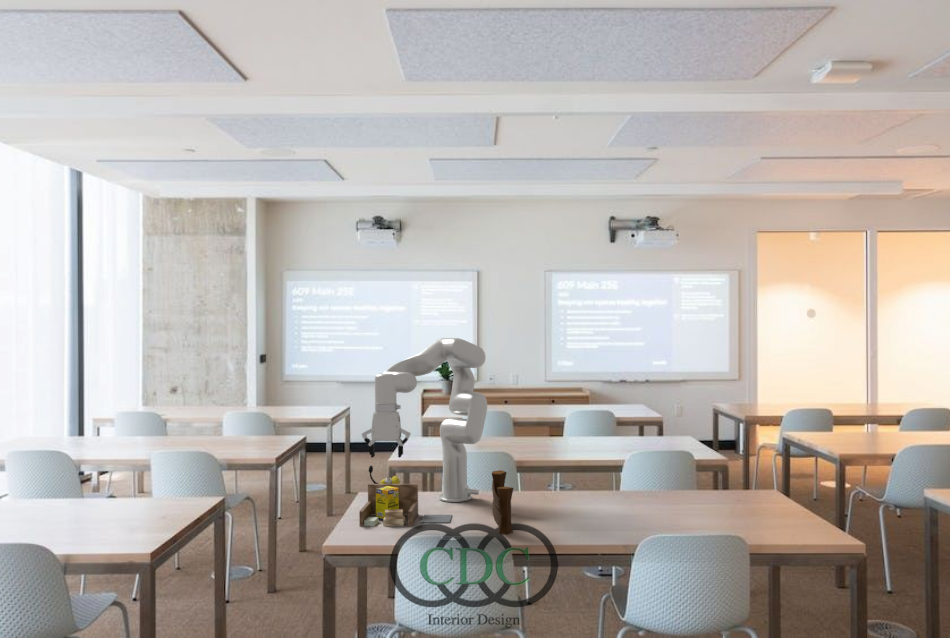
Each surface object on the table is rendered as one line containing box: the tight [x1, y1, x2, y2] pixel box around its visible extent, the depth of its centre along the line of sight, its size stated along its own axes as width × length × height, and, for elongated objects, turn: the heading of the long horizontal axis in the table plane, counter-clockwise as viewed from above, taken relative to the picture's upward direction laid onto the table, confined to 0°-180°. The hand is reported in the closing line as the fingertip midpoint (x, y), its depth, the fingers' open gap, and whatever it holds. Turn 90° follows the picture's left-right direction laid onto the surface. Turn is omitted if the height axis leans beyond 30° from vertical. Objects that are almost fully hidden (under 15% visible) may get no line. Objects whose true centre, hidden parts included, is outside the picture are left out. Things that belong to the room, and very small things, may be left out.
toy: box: [368, 465, 401, 484], centre depth 290 cm, size 6×14×15 cm
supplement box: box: [375, 486, 399, 522], centre depth 266 cm, size 6×6×11 cm
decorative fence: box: [491, 470, 514, 536], centre depth 259 cm, size 34×6×15 cm, turn 2°
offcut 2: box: [385, 509, 404, 520], centre depth 259 cm, size 6×4×2 cm, turn 96°
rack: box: [358, 483, 419, 527], centre depth 264 cm, size 18×16×11 cm
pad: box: [420, 514, 453, 524], centre depth 264 cm, size 10×10×1 cm
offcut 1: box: [363, 516, 379, 527], centre depth 259 cm, size 4×5×2 cm
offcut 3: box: [382, 515, 406, 527], centre depth 259 cm, size 7×4×2 cm, turn 87°
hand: (386, 456), depth 266 cm, fingers open, 9 cm apart
